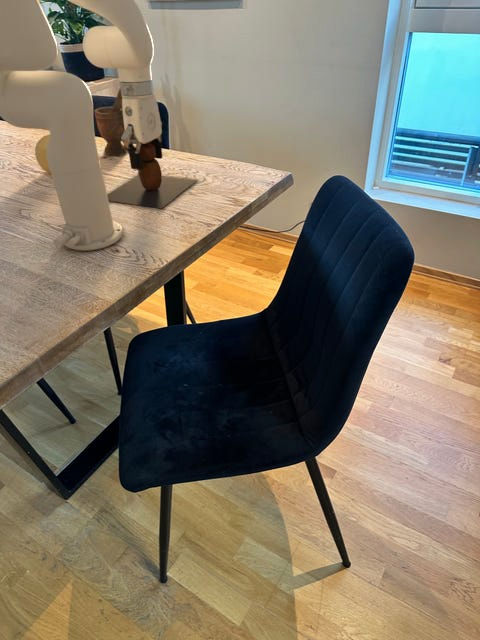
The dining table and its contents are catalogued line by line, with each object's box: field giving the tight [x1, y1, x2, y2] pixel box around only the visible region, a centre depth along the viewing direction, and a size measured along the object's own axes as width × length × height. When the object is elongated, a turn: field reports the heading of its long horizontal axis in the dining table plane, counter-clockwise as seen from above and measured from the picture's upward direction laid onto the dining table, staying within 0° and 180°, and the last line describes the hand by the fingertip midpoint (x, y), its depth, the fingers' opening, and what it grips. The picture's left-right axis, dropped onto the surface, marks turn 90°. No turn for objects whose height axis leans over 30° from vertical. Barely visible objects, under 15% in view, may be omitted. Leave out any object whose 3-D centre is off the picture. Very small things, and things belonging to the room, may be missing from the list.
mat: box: [107, 174, 197, 210], centre depth 114 cm, size 20×18×1 cm
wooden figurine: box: [137, 141, 163, 190], centre depth 110 cm, size 7×6×15 cm
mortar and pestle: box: [93, 88, 128, 157], centre depth 135 cm, size 12×9×20 cm
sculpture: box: [34, 133, 51, 175], centre depth 124 cm, size 11×12×11 cm
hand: (147, 163), depth 110 cm, fingers open, 9 cm apart
